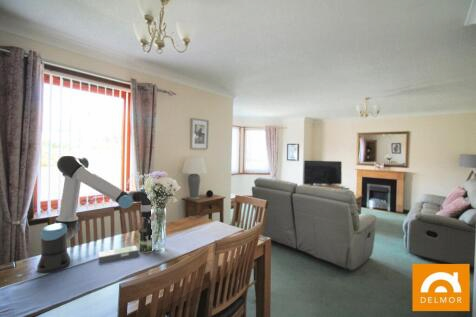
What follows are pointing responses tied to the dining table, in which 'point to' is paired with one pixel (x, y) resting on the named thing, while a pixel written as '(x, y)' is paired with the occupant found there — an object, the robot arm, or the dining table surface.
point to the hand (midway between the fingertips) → (147, 241)
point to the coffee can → (144, 241)
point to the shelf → (118, 254)
